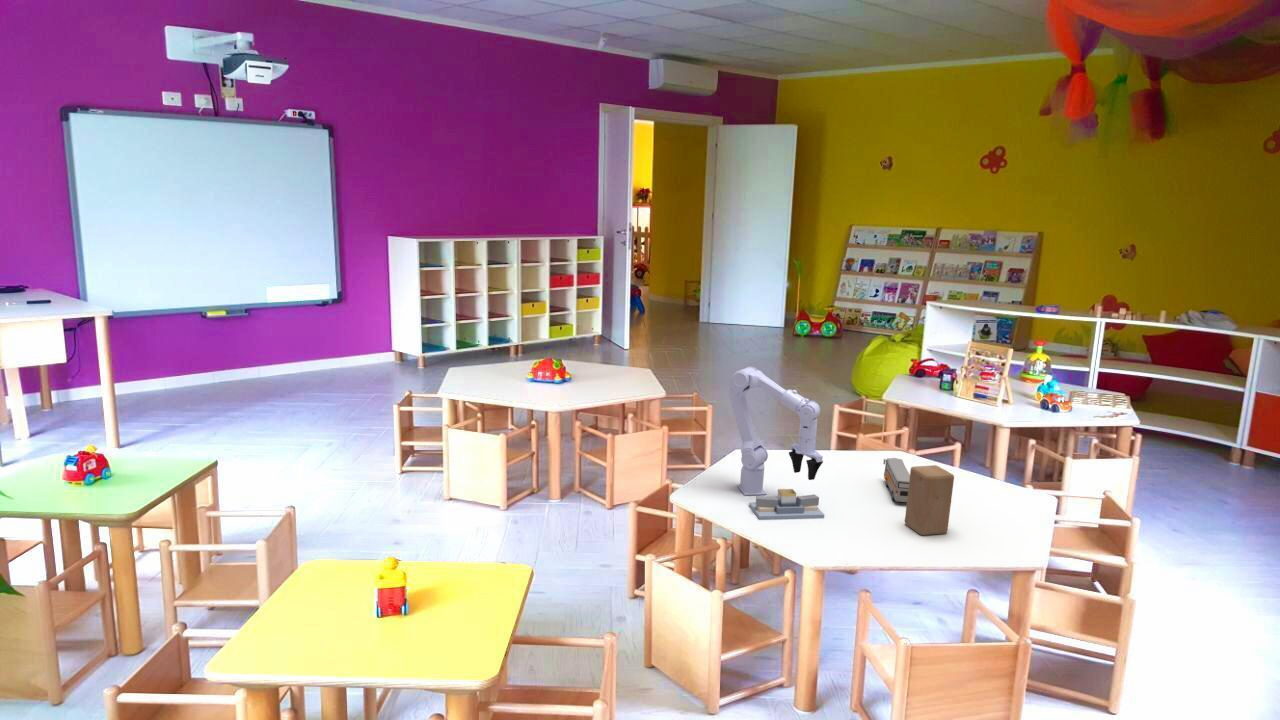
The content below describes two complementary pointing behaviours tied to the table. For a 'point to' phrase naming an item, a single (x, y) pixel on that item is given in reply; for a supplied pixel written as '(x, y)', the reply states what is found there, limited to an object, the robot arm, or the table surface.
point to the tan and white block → (786, 498)
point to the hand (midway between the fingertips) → (804, 475)
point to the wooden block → (929, 499)
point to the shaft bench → (786, 508)
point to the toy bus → (897, 479)
